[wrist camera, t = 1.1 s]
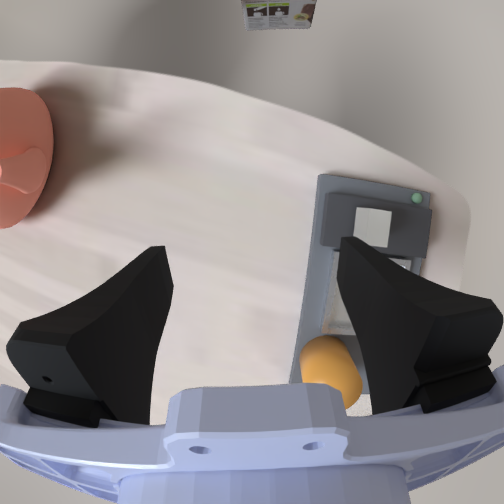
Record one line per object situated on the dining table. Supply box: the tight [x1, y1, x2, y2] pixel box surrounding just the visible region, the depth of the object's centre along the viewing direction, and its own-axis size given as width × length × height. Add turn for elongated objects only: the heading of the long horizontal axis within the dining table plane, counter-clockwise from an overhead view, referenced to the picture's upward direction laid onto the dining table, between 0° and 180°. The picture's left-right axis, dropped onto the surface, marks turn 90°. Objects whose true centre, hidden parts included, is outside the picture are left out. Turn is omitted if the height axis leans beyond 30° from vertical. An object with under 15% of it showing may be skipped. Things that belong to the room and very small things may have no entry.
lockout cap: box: [299, 335, 363, 410], centre depth 23 cm, size 4×4×6 cm
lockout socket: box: [320, 250, 411, 335], centre depth 24 cm, size 7×7×1 cm
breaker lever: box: [353, 207, 392, 248], centre depth 20 cm, size 2×2×3 cm
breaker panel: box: [289, 174, 432, 394], centre depth 25 cm, size 20×10×3 cm, turn 174°
